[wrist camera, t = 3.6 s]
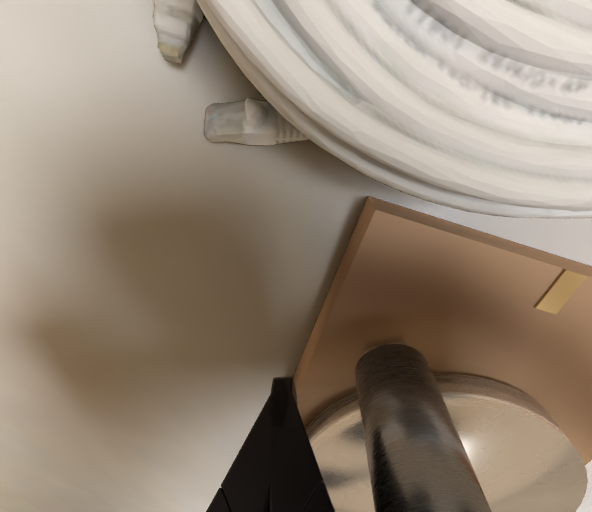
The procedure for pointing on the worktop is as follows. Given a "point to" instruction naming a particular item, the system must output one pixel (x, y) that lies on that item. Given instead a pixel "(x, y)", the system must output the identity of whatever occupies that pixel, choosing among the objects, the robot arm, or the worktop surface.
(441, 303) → the board
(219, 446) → the worktop surface
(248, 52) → the cable
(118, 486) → the worktop surface
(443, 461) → the metal disc with handle
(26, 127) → the worktop surface
